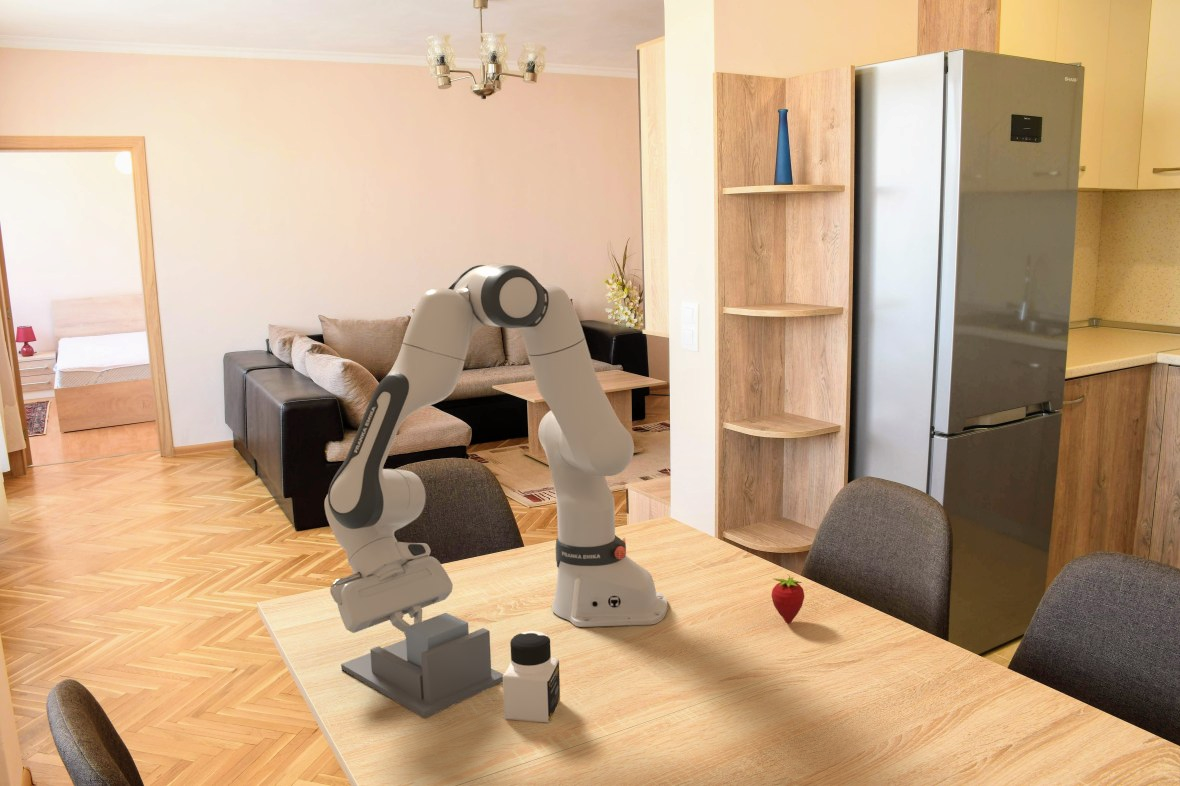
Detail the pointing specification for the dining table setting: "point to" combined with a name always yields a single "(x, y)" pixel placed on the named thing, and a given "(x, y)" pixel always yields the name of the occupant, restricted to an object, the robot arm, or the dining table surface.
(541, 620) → the dining table surface
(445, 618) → the key block
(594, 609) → the robot arm
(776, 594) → the strawberry
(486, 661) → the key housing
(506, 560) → the dining table surface
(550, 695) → the medicine bottle
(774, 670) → the dining table surface
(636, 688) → the dining table surface
